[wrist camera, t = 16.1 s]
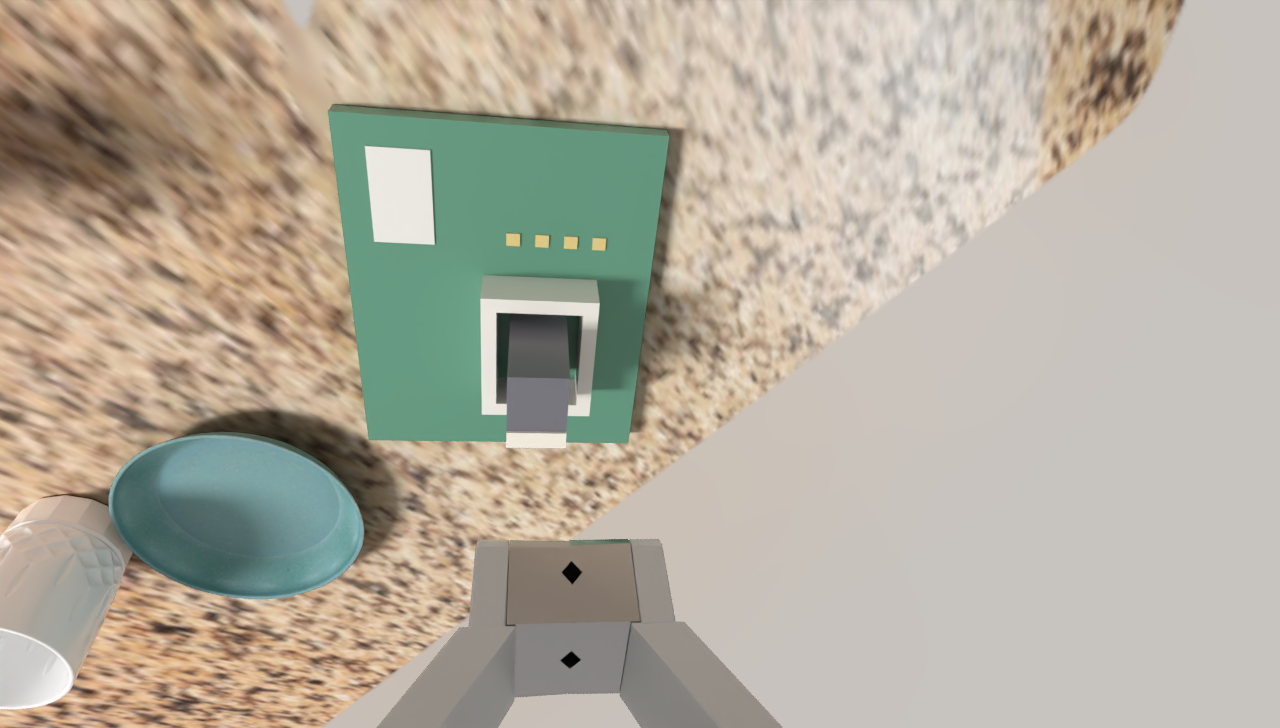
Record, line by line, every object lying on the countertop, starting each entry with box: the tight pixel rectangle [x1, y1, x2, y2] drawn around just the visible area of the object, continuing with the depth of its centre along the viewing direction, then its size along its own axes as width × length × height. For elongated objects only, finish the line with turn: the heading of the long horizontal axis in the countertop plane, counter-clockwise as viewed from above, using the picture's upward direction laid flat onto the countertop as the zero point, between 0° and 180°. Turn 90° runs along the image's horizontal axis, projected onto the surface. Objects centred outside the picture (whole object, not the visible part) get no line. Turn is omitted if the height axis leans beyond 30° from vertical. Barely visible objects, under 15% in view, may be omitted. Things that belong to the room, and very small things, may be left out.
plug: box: [506, 313, 570, 449], centre depth 40 cm, size 4×3×7 cm, turn 173°
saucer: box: [109, 432, 364, 599], centre depth 48 cm, size 15×15×3 cm
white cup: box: [0, 495, 133, 709], centre depth 45 cm, size 8×8×10 cm
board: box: [328, 105, 669, 443], centre depth 41 cm, size 20×16×4 cm
